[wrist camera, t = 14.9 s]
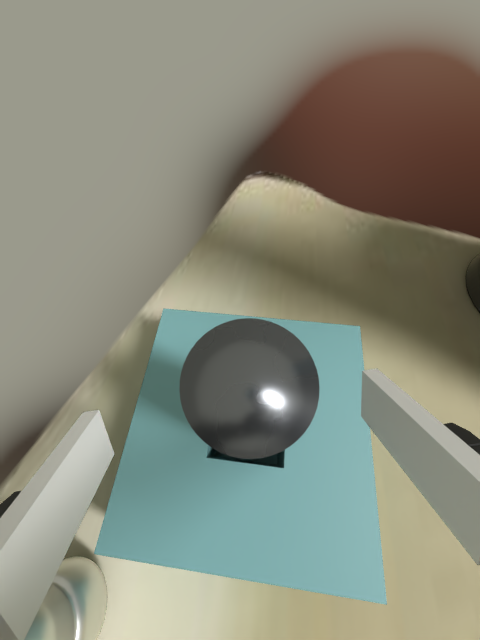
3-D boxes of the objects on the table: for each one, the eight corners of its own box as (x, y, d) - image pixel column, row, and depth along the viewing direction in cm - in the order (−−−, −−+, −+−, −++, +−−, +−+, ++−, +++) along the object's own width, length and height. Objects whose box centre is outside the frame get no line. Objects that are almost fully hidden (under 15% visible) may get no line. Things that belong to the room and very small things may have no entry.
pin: (273, 405, 25) (318, 324, 9) (270, 456, 23) (320, 469, 7) (228, 399, 25) (194, 312, 9) (222, 449, 23) (164, 448, 7)
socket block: (339, 349, 28) (360, 326, 23) (350, 564, 20) (386, 604, 15) (179, 333, 30) (163, 308, 25) (131, 528, 22) (93, 554, 17)
